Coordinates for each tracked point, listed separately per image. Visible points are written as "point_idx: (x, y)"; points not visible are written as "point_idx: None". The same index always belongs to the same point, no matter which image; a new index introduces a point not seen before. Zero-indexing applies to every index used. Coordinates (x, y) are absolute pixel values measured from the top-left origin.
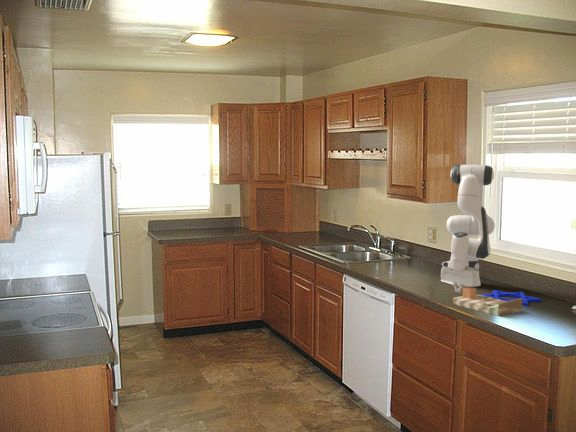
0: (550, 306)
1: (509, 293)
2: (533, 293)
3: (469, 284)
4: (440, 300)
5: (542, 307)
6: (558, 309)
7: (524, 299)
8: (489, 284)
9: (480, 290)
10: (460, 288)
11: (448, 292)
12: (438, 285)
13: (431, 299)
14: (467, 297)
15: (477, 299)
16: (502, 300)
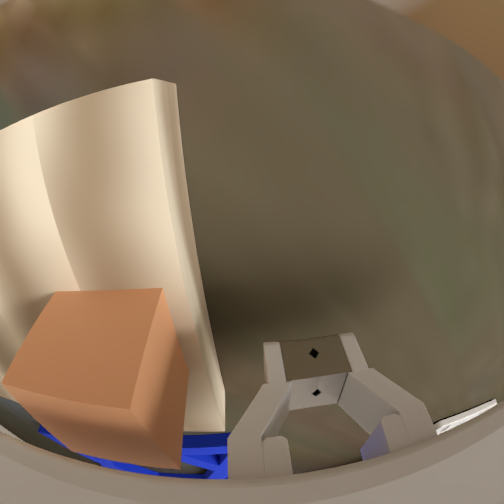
0: (46, 444)
1: None
2: None
3: (2, 460)
4: (392, 96)
5: (32, 429)
6: (16, 429)
7: (101, 462)
8: None
9: (337, 458)
10: (256, 404)
11: (449, 355)
12: (500, 372)
13: (460, 64)
14: (80, 293)
15: (18, 318)
16: (13, 398)
